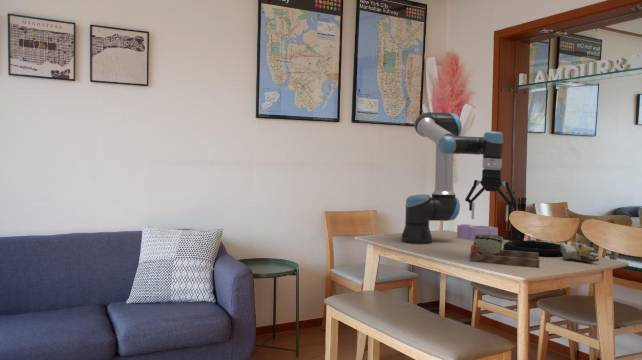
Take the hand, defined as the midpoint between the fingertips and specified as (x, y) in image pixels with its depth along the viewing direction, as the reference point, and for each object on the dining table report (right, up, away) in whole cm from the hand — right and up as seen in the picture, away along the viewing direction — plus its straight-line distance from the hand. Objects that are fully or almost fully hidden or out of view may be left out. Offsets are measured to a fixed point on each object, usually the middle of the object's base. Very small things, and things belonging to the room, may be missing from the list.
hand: (489, 219), depth 218 cm
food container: (0, -17, 0) cm, 17 cm away
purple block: (+11, -15, +56) cm, 59 cm away
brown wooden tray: (+6, -17, -2) cm, 18 cm away
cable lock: (+29, -17, +22) cm, 40 cm away
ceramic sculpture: (+38, -18, +2) cm, 42 cm away
